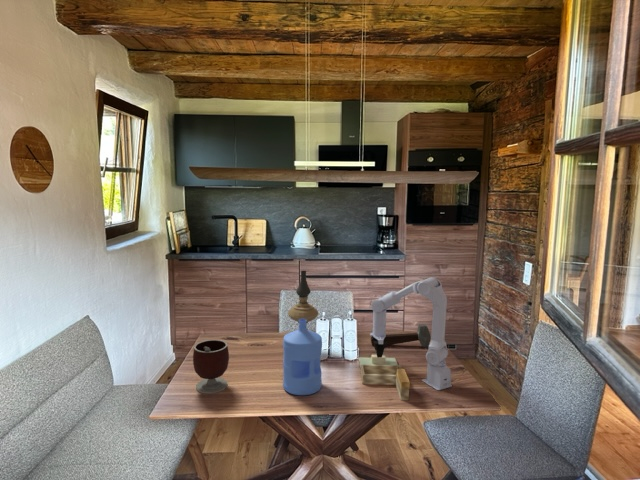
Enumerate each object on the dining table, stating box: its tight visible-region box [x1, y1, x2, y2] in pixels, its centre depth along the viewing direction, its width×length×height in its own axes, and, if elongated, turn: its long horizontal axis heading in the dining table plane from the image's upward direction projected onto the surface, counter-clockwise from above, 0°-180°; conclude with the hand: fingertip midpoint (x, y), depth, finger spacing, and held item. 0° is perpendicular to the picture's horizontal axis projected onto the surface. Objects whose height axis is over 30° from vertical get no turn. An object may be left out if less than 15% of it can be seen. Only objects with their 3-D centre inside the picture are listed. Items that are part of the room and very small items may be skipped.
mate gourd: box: [192, 339, 230, 395], centre depth 162 cm, size 16×14×20 cm
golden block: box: [397, 368, 411, 389], centre depth 159 cm, size 3×11×2 cm, turn 179°
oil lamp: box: [287, 270, 320, 330], centre depth 199 cm, size 15×15×40 cm
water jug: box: [282, 319, 323, 396], centre depth 163 cm, size 16×16×28 cm
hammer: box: [370, 323, 431, 348], centre depth 209 cm, size 5×11×30 cm
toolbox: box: [360, 364, 410, 401], centre depth 166 cm, size 17×22×5 cm
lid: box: [357, 354, 399, 370], centre depth 185 cm, size 17×10×5 cm, turn 90°
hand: (378, 353), depth 185 cm, fingers open, 7 cm apart
